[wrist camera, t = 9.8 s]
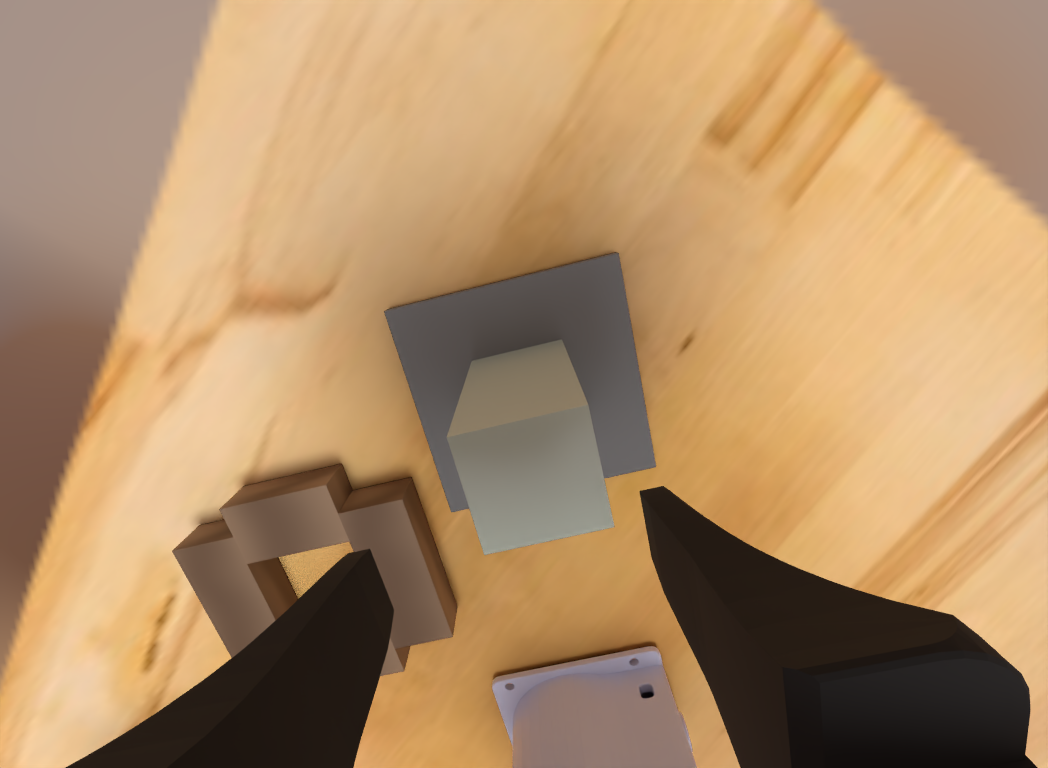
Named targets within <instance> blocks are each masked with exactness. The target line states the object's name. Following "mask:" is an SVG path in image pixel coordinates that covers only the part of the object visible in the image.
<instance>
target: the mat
mask: <svg viewBox="0 0 1048 768" xmlns="http://www.w3.org/2000/svg"><path fill="white" fill-rule="evenodd" d="M384 313H385V316H386V319H387V322H388V325H389V328H390V331H391V334H392V337H393V340H394V343H395V346H396V349H397V352H398V355H399V358H400V360H401V363H402V366H403V369H404V372H405V375H406V378H407V381H408V384H409V387H410V390H411V393H412V396H413V399H414V402H415V405H416V408H417V411H418V414H419V417H420V420H421V423H422V426H423V429H424V432H425V435H426V438H427V441H428V444H429V447H430V450H431V453H432V456H433V459H434V462H435V465H436V468H437V471H438V474H439V477H440V480H441V483H442V486H443V489H444V492H445V495H446V498H447V501H448V504H449V507H450V510H451V512H455V511H460V510H464V509H469V506H468V503H467V499H466V496H465V493H464V490H463V487H462V484H461V481H460V478H459V474H458V471H457V468H456V465H455V462H454V459H453V456H452V452H451V449H450V446H449V443H448V440H447V435H448V432H449V429H450V426H451V423H452V419H453V416H454V413H455V410H456V407H457V404H458V401H459V398H460V395H461V392H462V389H463V386H464V383H465V380H466V377H467V374H468V371H469V368H470V365H471V362H472V361H473V360H477V359H482V358H486V357H490V356H494V355H498V354H503V353H507V352H511V351H515V350H519V349H523V348H528V347H532V346H536V345H540V344H544V343H548V342H553V341H557V340H561V339H562V341H563V343H564V346H565V348H566V351H567V353H568V356H569V358H570V361H571V363H572V366H573V368H574V371H575V373H576V376H577V378H578V380H579V383H580V385H581V388H582V390H583V393H584V395H585V398H586V400H587V403H588V406H589V410H590V415H591V420H592V424H593V429H594V434H595V438H596V443H597V448H598V452H599V457H600V462H601V466H602V471H603V476H604V478H609V477H613V476H618V475H622V474H627V473H631V472H636V471H640V470H645V469H649V468H654V467H656V463H655V458H654V452H653V446H652V441H651V435H650V429H649V423H648V418H647V412H646V406H645V401H644V395H643V389H642V384H641V378H640V372H639V366H638V361H637V355H636V349H635V344H634V338H633V332H632V327H631V321H630V315H629V309H628V304H627V298H626V292H625V287H624V281H623V275H622V270H621V264H620V258H619V253H616V252H615V253H611V254H607V255H603V256H599V257H595V258H591V259H587V260H583V261H579V262H575V263H571V264H567V265H563V266H559V267H555V268H551V269H547V270H543V271H539V272H535V273H531V274H527V275H523V276H519V277H515V278H511V279H507V280H503V281H499V282H495V283H491V284H487V285H483V286H479V287H475V288H471V289H467V290H463V291H459V292H455V293H451V294H447V295H443V296H439V297H435V298H431V299H427V300H423V301H419V302H415V303H411V304H407V305H403V306H399V307H395V308H391V309H387V310H386V311H384Z"/></svg>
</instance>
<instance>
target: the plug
mask: <svg viewBox="0 0 1048 768" xmlns="http://www.w3.org/2000/svg"><path fill="white" fill-rule="evenodd" d="M447 440H448V443H449V446H450V449H451V452H452V456H453V459H454V462H455V465H456V468H457V471H458V474H459V478H460V481H461V484H462V487H463V490H464V493H465V496H466V499H467V503H468V506H469V509H470V512H471V515H472V518H473V521H474V524H475V528H476V531H477V534H478V537H479V540H480V543H481V546H482V549H483V553H484V555H487V554H492V553H496V552H501V551H506V550H510V549H515V548H520V547H524V546H529V545H534V544H538V543H543V542H548V541H552V540H557V539H562V538H566V537H571V536H576V535H580V534H585V533H590V532H594V531H599V530H603V529H608V528H613V527H614V522H613V518H612V513H611V508H610V504H609V499H608V494H607V490H606V485H605V480H604V476H603V471H602V466H601V462H600V457H599V452H598V448H597V443H596V438H595V434H594V429H593V424H592V420H591V415H590V410H589V406H588V403H587V400H586V398H585V395H584V393H583V390H582V388H581V385H580V383H579V380H578V378H577V376H576V373H575V371H574V368H573V366H572V363H571V361H570V358H569V356H568V353H567V351H566V348H565V346H564V343H563V341H562V339H561V340H557V341H553V342H548V343H544V344H540V345H536V346H532V347H528V348H523V349H519V350H515V351H511V352H507V353H503V354H498V355H494V356H490V357H486V358H482V359H477V360H473V361H472V362H471V365H470V368H469V371H468V374H467V377H466V380H465V383H464V386H463V389H462V392H461V395H460V398H459V401H458V404H457V407H456V410H455V413H454V416H453V419H452V423H451V426H450V429H449V432H448V435H447Z"/></svg>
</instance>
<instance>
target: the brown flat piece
mask: <svg viewBox="0 0 1048 768" xmlns="http://www.w3.org/2000/svg"><path fill="white" fill-rule="evenodd" d="M219 510H220V512H221V514H222V516H223V518H224V520H221V521H216V522H212V523H208V524H203V525H199V526H198V527H197V528H196V529H195V530H194V531H193V532H192V533H191V534H190V535H189V536H188V537H187V538H185V539H184V540H183V541H182V542H181V543H180V544H179V545H178V546H177V547H176V548H175V549H174V550H173V551H172V552H173V554H174V555H175V557H176V559H177V561H178V563H179V564H180V566H181V568H182V570H183V572H184V573H185V575H186V577H187V579H188V580H189V582H190V584H191V586H192V588H193V589H194V591H195V593H196V595H197V597H198V598H199V600H200V602H201V604H202V605H203V607H204V609H205V611H206V613H207V614H208V616H209V618H210V620H211V621H212V623H213V625H214V627H215V629H216V630H217V632H218V634H219V636H220V638H221V639H222V641H223V643H224V645H225V646H226V648H227V650H228V652H229V654H230V655H231V657H232V658H233V657H234V656H235V655H236V654H238V653H239V652H240V651H241V650H243V649H244V648H245V647H246V646H247V645H248V644H250V643H251V642H252V641H253V640H254V639H255V638H257V637H258V636H259V635H260V634H261V633H262V632H263V631H264V630H265V629H267V628H268V627H269V626H270V625H271V624H272V623H273V622H274V621H275V620H277V619H278V618H279V617H280V616H281V615H282V614H283V613H284V612H285V611H287V610H288V609H289V608H290V607H291V606H292V605H293V604H294V603H295V602H296V601H297V600H298V599H297V597H296V594H295V592H294V590H293V588H292V586H291V584H290V582H289V580H288V578H287V576H286V574H285V572H284V570H283V567H282V565H281V563H280V561H279V559H278V557H281V556H286V555H290V554H295V553H299V552H304V551H308V550H313V549H318V548H322V547H327V546H331V545H336V544H340V543H345V542H349V541H350V544H351V546H352V548H353V551H354V552H357V551H361V550H366V549H370V550H371V552H372V555H373V557H374V560H375V562H376V565H377V567H378V570H379V572H380V575H381V577H382V580H383V583H384V585H385V588H386V590H387V593H388V595H389V598H390V600H391V603H392V605H393V608H394V615H393V622H392V629H391V635H390V640H389V646H388V650H387V654H386V657H385V661H384V664H383V668H382V671H381V674H380V676H383V675H388V674H393V673H398V672H403V671H404V670H405V666H406V662H407V658H408V654H409V650H410V646H411V645H416V644H421V643H426V642H430V641H435V640H440V639H445V638H450V637H453V632H454V626H455V619H456V613H457V604H456V601H455V598H454V596H453V593H452V590H451V587H450V584H449V581H448V579H447V576H446V573H445V570H444V567H443V565H442V562H441V559H440V556H439V553H438V551H437V548H436V545H435V542H434V539H433V536H432V534H431V531H430V528H429V525H428V522H427V520H426V517H425V514H424V511H423V508H422V506H421V503H420V500H419V497H418V494H417V491H416V489H415V486H414V483H413V480H412V477H410V478H406V479H401V480H397V481H392V482H388V483H384V484H379V485H375V486H370V487H366V488H362V489H357V490H353V491H352V488H351V486H350V483H349V481H348V478H347V476H346V473H345V471H344V468H343V466H342V464H338V465H334V466H330V467H325V468H321V469H317V470H312V471H308V472H304V473H299V474H295V475H291V476H286V477H282V478H278V479H273V480H269V481H265V482H260V483H256V484H252V485H247V486H243V487H242V488H241V489H240V490H239V491H238V492H237V493H236V494H235V495H234V496H233V497H232V498H231V499H230V500H229V501H228V502H227V503H226V504H224V505H223V506H222V507H221V508H220V509H219Z"/></svg>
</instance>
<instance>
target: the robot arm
mask: <svg viewBox="0 0 1048 768" xmlns="http://www.w3.org/2000/svg"><path fill="white" fill-rule="evenodd" d="M640 496H641V502H642V507H643V513H644V518H645V524H646V529H647V535H648V540H649V546H650V551H651V556H652V560H653V562H654V565H655V568H656V571H657V574H658V577H659V580H660V582H661V585H662V588H663V591H664V593H665V595H666V598H667V600H668V602H669V604H670V606H671V608H672V610H673V612H674V614H675V616H676V618H677V620H678V622H679V624H680V626H681V628H682V631H683V633H684V635H685V637H686V639H687V641H688V643H689V645H690V647H691V649H692V651H693V653H694V655H695V657H696V659H697V661H698V663H699V665H700V667H701V669H702V671H703V673H704V675H705V678H706V680H707V682H708V684H709V687H710V689H711V691H712V694H713V696H714V699H715V701H716V704H717V706H718V709H719V712H720V714H721V717H722V719H723V722H724V725H725V727H726V730H727V733H728V735H729V738H730V740H731V743H732V746H733V748H734V751H735V754H736V756H737V759H738V762H739V765H740V767H741V768H1037V767H1036V766H1035V765H1034V764H1033V762H1032V761H1031V760H1030V759H1029V758H1028V757H1027V756H1026V755H1025V751H1026V743H1027V734H1028V726H1029V718H1030V694H1029V688H1028V686H1027V684H1026V682H1025V680H1024V678H1023V676H1022V674H1021V673H1020V672H1019V671H1018V670H1017V669H1016V668H1014V667H1013V666H1012V665H1011V664H1010V663H1009V662H1008V661H1007V660H1005V659H1004V658H1003V657H1002V656H1001V655H1000V654H999V653H998V652H997V651H996V650H995V649H993V648H992V647H991V646H990V645H989V644H988V643H987V642H986V641H985V640H983V639H982V638H981V637H980V636H979V635H978V634H976V633H975V632H974V631H972V630H971V629H970V628H969V627H967V626H966V625H965V624H964V623H962V622H961V621H960V620H959V619H957V618H956V617H955V616H953V615H950V614H946V613H942V612H938V611H934V610H929V609H925V608H921V607H917V606H913V605H909V604H904V603H900V602H896V601H892V600H888V599H885V598H882V597H878V596H875V595H872V594H868V593H865V592H862V591H859V590H855V589H852V588H849V587H846V586H843V585H840V584H837V583H835V582H832V581H829V580H826V579H824V578H821V577H819V576H816V575H814V574H811V573H808V572H806V571H803V570H801V569H798V568H796V567H794V566H792V565H789V564H787V563H785V562H783V561H781V560H778V559H776V558H774V557H772V556H770V555H768V554H766V553H764V552H762V551H760V550H758V549H756V548H754V547H752V546H750V545H749V544H747V543H745V542H743V541H742V540H740V539H738V538H737V537H735V536H733V535H731V534H730V533H728V532H727V531H725V530H724V529H722V528H721V527H719V526H718V525H716V524H715V523H713V522H712V521H710V520H709V519H707V518H706V517H704V516H703V515H701V514H700V513H699V512H697V511H696V510H694V509H693V508H692V507H690V506H689V505H688V504H686V503H685V502H684V501H682V500H681V499H680V498H679V497H677V496H676V495H675V494H673V493H672V492H671V491H670V490H668V489H667V488H665V487H664V486H661V487H657V488H652V489H647V490H643V491H640ZM393 615H394V608H393V605H392V603H391V600H390V598H389V595H388V593H387V590H386V588H385V585H384V583H383V580H382V577H381V575H380V572H379V570H378V567H377V565H376V562H375V560H374V557H373V555H372V552H371V550H370V549H366V550H361V551H357V552H352V553H348V554H347V555H345V556H344V557H343V558H342V559H341V560H339V561H338V562H337V563H336V564H335V565H334V566H333V567H332V568H331V569H330V570H328V571H327V572H326V573H325V574H324V575H323V576H322V577H321V578H320V579H319V580H318V581H317V582H316V583H315V584H314V585H313V586H312V587H311V588H310V589H309V590H308V591H307V592H305V593H304V594H303V595H302V596H301V597H300V598H299V599H298V600H297V601H296V602H295V603H294V604H293V605H292V606H291V607H290V608H289V609H288V610H287V611H285V612H284V613H283V614H282V615H281V616H280V617H279V618H278V619H277V620H275V621H274V622H273V623H272V624H271V625H270V626H269V627H268V628H267V629H265V630H264V631H263V632H262V633H261V634H260V635H259V636H258V637H257V638H255V639H254V640H253V641H252V642H251V643H250V644H248V645H247V646H246V647H245V648H244V649H243V650H241V651H240V652H239V653H238V654H236V655H235V656H234V657H233V658H231V659H230V660H229V661H228V662H226V663H225V664H224V665H223V666H221V667H220V668H219V669H217V670H216V671H215V672H214V673H212V674H211V675H210V676H208V677H207V678H206V679H204V680H203V681H202V682H200V683H199V684H197V685H196V686H194V687H193V688H192V689H190V690H189V691H187V692H186V693H184V694H183V695H182V696H180V697H179V698H177V699H176V700H174V701H173V702H172V703H170V704H169V705H167V706H166V707H164V708H163V709H162V710H160V711H159V712H157V713H156V714H154V715H153V716H151V717H150V718H148V719H146V720H145V721H143V722H142V723H140V724H139V725H137V726H135V727H134V728H132V729H131V730H129V731H128V732H126V733H124V734H123V735H121V736H119V737H118V738H116V739H114V740H113V741H111V742H109V743H108V744H106V745H105V746H103V747H101V748H100V749H98V750H96V751H94V752H93V753H91V754H89V755H87V756H86V757H84V758H82V759H80V760H79V761H77V762H75V763H73V764H71V765H70V766H68V767H66V768H353V767H354V762H355V758H356V755H357V751H358V747H359V743H360V740H361V736H362V733H363V730H364V727H365V723H366V720H367V717H368V714H369V710H370V707H371V704H372V701H373V697H374V694H375V691H376V688H377V684H378V681H379V678H380V674H381V671H382V668H383V664H384V661H385V657H386V654H387V650H388V646H389V640H390V635H391V629H392V622H393ZM633 658H636V659H633ZM631 659H633V660H631ZM508 683H512V684H508ZM492 690H493V693H494V695H495V698H496V701H497V704H498V707H499V710H500V713H501V715H502V718H503V721H504V724H505V727H506V730H507V733H508V735H509V738H510V741H511V744H512V747H513V765H512V768H697V766H696V763H695V760H694V757H693V754H692V745H691V741H690V737H689V734H688V730H687V727H686V724H685V721H684V718H683V715H682V713H681V712H678V709H677V706H676V703H675V700H674V697H673V694H672V691H671V688H670V685H669V682H668V679H667V676H666V673H665V670H664V667H663V664H662V659H661V655H660V652H659V650H658V648H656V647H654V646H648V647H643V648H638V649H633V650H628V651H623V652H618V653H613V654H608V655H603V656H598V657H593V658H588V659H583V660H578V661H573V662H568V663H563V664H558V665H553V666H548V667H543V668H538V669H533V670H528V671H523V672H518V673H513V674H508V675H503V676H498V677H496V678H495V679H494V680H493V682H492Z"/></svg>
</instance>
